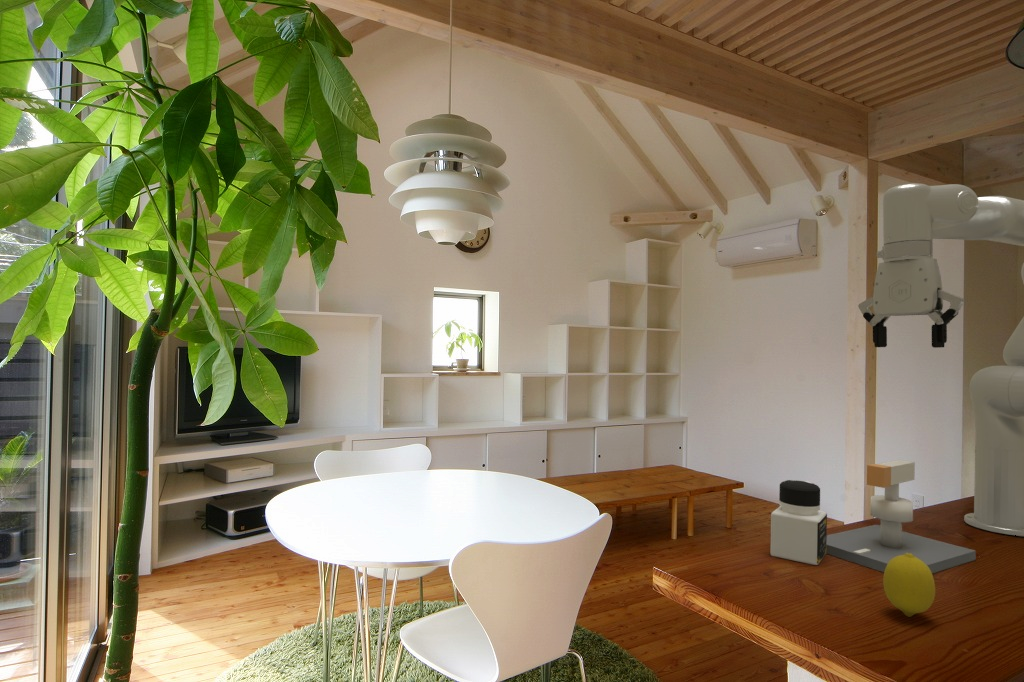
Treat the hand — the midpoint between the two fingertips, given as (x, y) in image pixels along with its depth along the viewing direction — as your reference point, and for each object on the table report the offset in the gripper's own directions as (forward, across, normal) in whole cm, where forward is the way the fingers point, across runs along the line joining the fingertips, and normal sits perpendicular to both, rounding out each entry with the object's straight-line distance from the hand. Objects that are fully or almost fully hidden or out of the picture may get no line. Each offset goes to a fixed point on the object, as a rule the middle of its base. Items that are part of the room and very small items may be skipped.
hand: (908, 347), depth 110 cm
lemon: (+34, +17, -37) cm, 53 cm away
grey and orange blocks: (+28, +3, -13) cm, 31 cm away
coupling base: (+34, +3, -13) cm, 37 cm away
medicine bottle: (+34, -4, -28) cm, 44 cm away
